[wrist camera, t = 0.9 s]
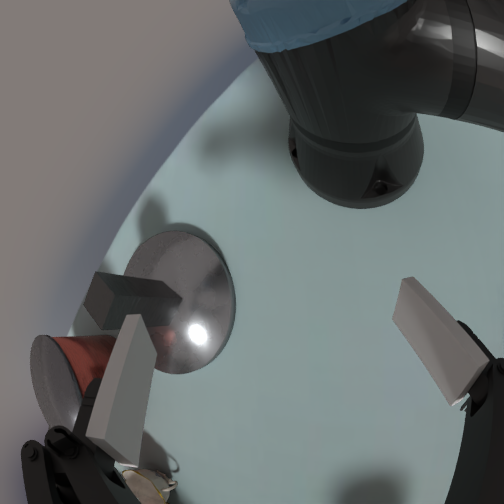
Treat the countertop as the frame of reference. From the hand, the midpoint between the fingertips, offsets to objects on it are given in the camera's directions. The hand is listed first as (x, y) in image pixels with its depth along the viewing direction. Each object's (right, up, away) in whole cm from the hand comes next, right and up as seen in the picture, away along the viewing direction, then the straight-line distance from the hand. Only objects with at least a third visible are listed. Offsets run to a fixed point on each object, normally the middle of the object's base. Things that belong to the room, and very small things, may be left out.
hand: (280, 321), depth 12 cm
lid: (-11, -3, +21) cm, 24 cm away
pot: (-26, -22, +23) cm, 42 cm away
